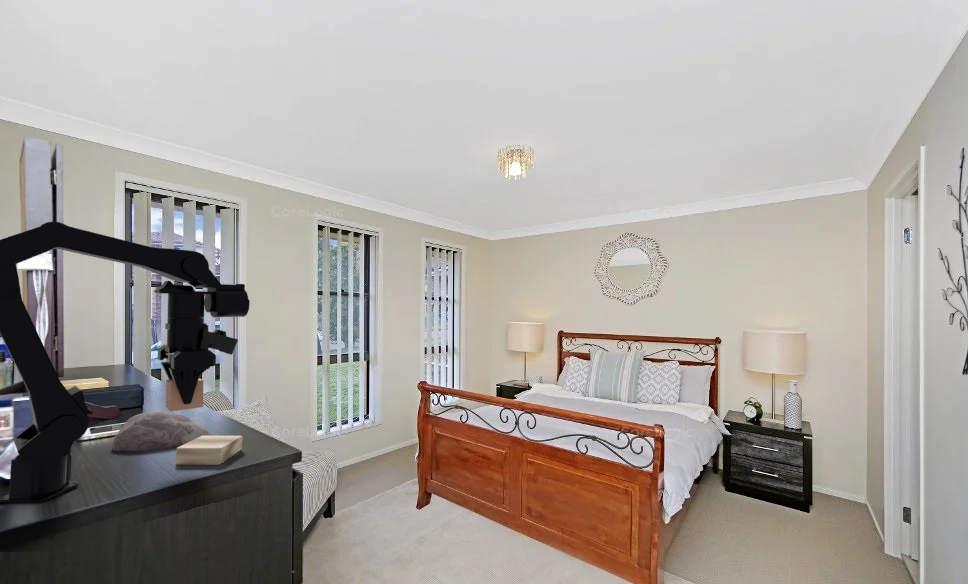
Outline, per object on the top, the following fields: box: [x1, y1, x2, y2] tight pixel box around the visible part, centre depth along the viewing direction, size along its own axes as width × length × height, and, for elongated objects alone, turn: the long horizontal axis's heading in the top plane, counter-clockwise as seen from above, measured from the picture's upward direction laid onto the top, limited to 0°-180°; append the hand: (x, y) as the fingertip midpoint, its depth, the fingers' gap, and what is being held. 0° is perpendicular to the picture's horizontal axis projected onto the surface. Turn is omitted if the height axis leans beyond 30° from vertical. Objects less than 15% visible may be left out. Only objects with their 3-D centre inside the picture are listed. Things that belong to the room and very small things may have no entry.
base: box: [175, 435, 243, 466], centre depth 85 cm, size 8×8×3 cm
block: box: [165, 377, 205, 413], centre depth 82 cm, size 5×5×5 cm
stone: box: [112, 411, 211, 452], centre depth 94 cm, size 17×10×10 cm
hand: (184, 401), depth 82 cm, fingers closed on block, 5 cm apart
